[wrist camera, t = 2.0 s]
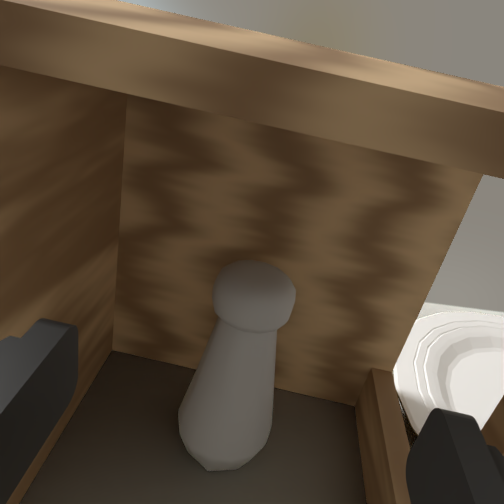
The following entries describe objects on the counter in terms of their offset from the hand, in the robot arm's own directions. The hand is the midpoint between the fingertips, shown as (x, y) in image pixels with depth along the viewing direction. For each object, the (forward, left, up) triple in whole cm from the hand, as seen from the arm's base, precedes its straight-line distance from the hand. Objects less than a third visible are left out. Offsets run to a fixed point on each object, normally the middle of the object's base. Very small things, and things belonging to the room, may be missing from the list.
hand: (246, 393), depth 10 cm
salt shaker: (0, +12, -17) cm, 21 cm away
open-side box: (0, +12, -17) cm, 21 cm away
